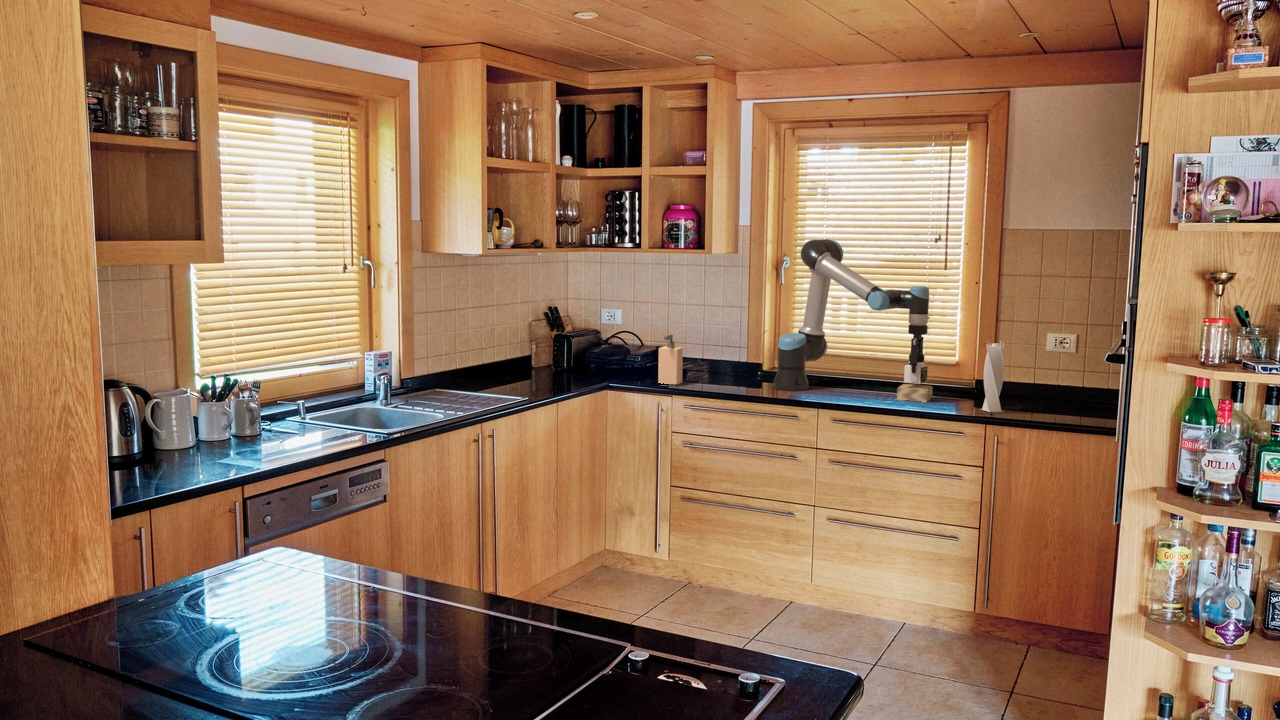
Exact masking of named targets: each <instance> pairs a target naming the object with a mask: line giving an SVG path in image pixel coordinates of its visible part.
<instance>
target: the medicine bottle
mask: <svg viewBox="0 0 1280 720" xmlns="http://www.w3.org/2000/svg"><path fill="white" fill-rule="evenodd" d="M910 355H911V353H909V355H908V364H906V365H904V373H903V374H904V375H903V382H904V383H903V384H912V385H922V384H923V385H924V384H926V383H927V382H928V369H929V368H928V367H929V366H928V365H927V364H925V354H924V353H923V354H920V353H919V354H918V362H917V365H918V373H917V381H910V370H911V365H909V363H910Z"/></svg>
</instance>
